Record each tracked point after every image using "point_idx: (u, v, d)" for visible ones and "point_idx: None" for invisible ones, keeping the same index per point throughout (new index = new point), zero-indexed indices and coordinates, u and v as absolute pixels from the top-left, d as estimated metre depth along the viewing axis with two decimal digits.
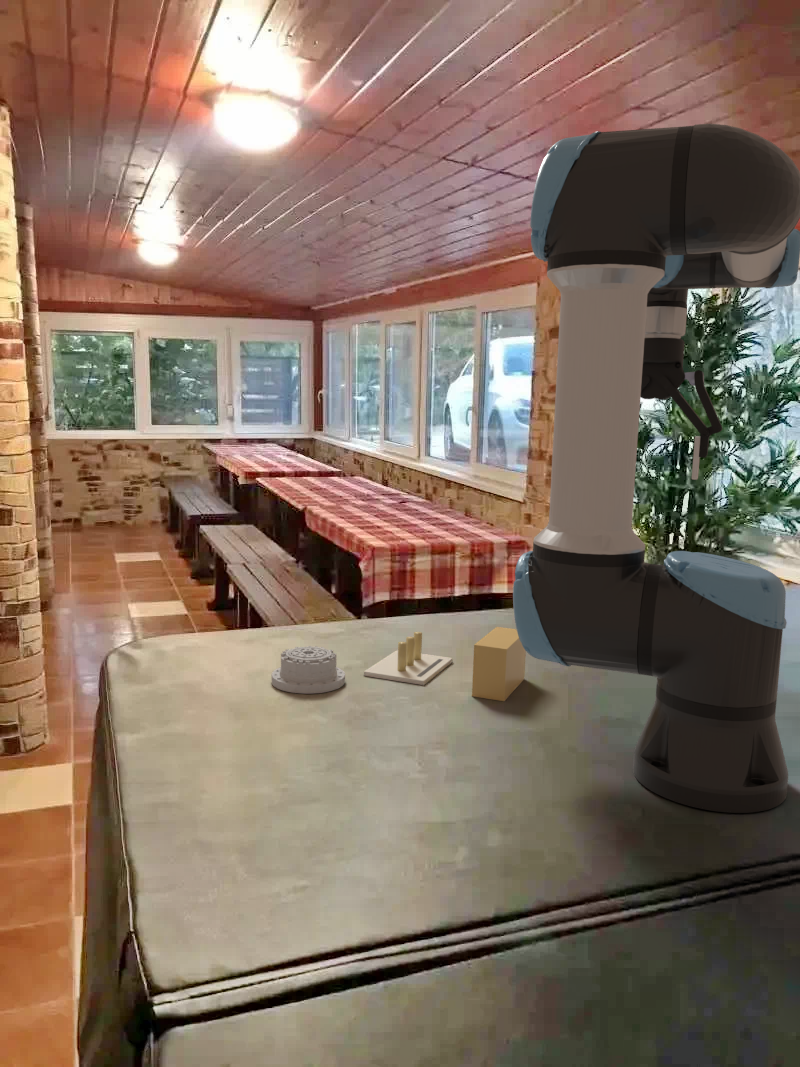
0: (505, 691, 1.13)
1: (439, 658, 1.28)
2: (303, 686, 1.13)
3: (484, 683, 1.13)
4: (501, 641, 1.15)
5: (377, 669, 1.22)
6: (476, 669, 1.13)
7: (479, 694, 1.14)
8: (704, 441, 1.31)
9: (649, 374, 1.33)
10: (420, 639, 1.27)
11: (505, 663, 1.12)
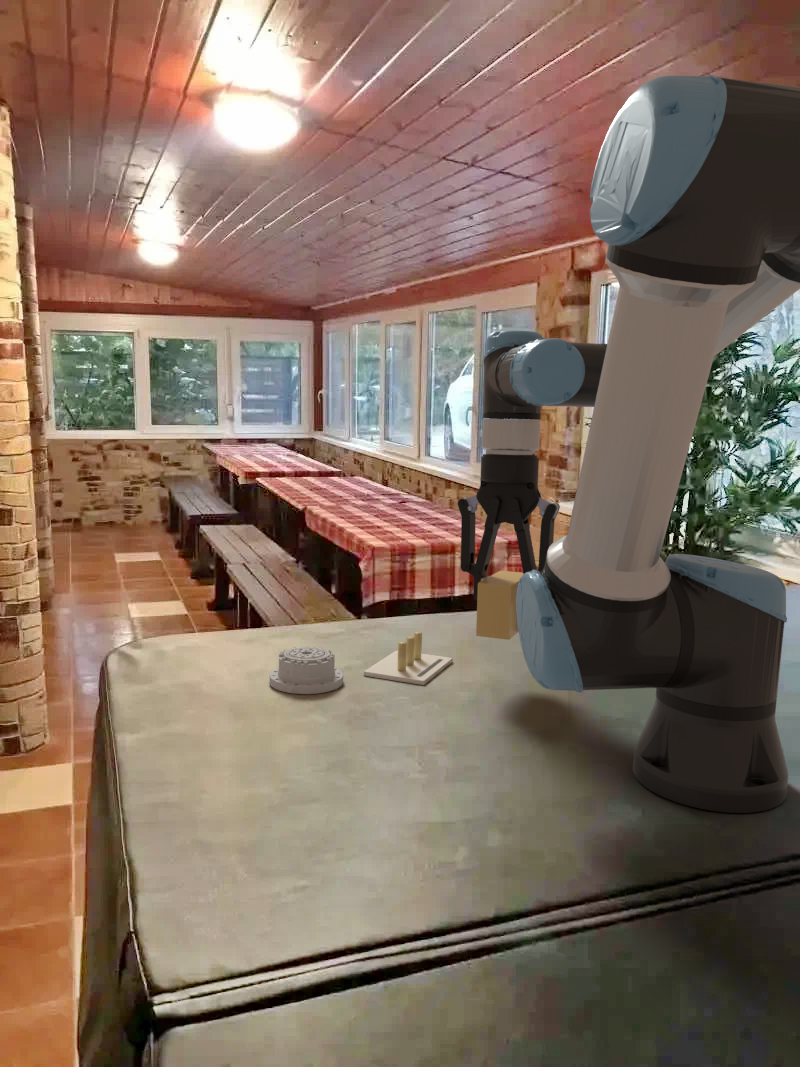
0: (510, 629, 1.11)
1: (439, 658, 1.28)
2: (302, 687, 1.13)
3: (488, 622, 1.12)
4: (505, 580, 1.14)
5: (377, 669, 1.22)
6: (480, 608, 1.12)
7: (483, 633, 1.12)
8: None
9: (497, 487, 1.13)
10: (420, 639, 1.27)
11: (509, 600, 1.10)
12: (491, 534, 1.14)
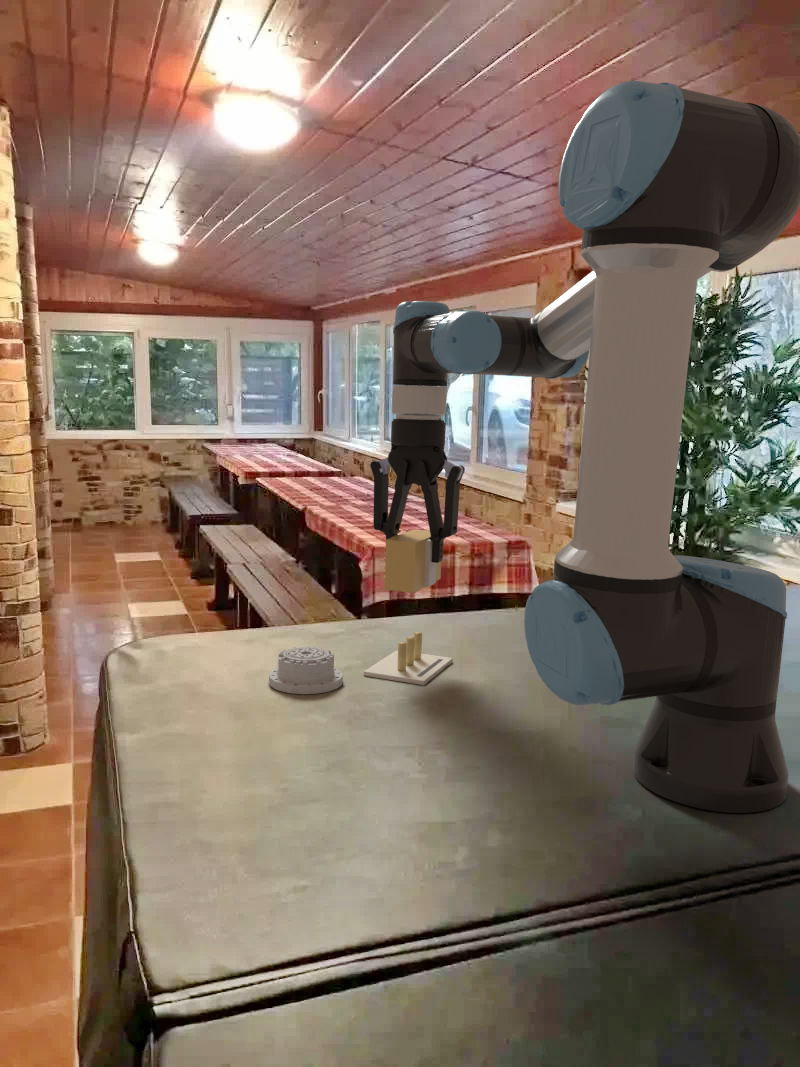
0: (415, 583, 1.18)
1: (439, 658, 1.28)
2: (301, 687, 1.13)
3: (396, 576, 1.19)
4: (413, 537, 1.21)
5: (377, 669, 1.22)
6: (388, 563, 1.19)
7: (391, 587, 1.19)
8: (436, 546, 1.21)
9: (406, 450, 1.20)
10: (420, 639, 1.27)
11: (414, 556, 1.17)
12: (401, 495, 1.21)
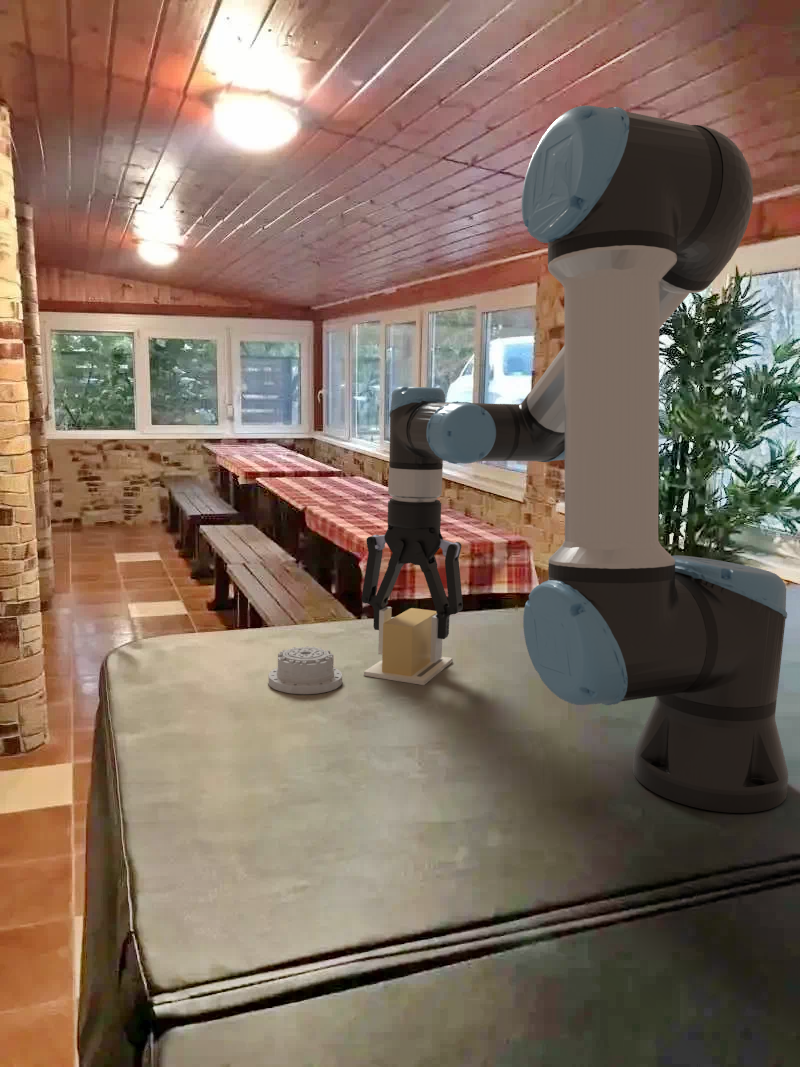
0: (412, 667, 1.20)
1: None
2: (300, 687, 1.13)
3: (393, 659, 1.20)
4: (410, 620, 1.22)
5: (377, 669, 1.22)
6: (385, 646, 1.21)
7: (388, 670, 1.21)
8: (442, 622, 1.22)
9: (403, 533, 1.22)
10: None
11: (411, 640, 1.19)
12: (393, 572, 1.23)
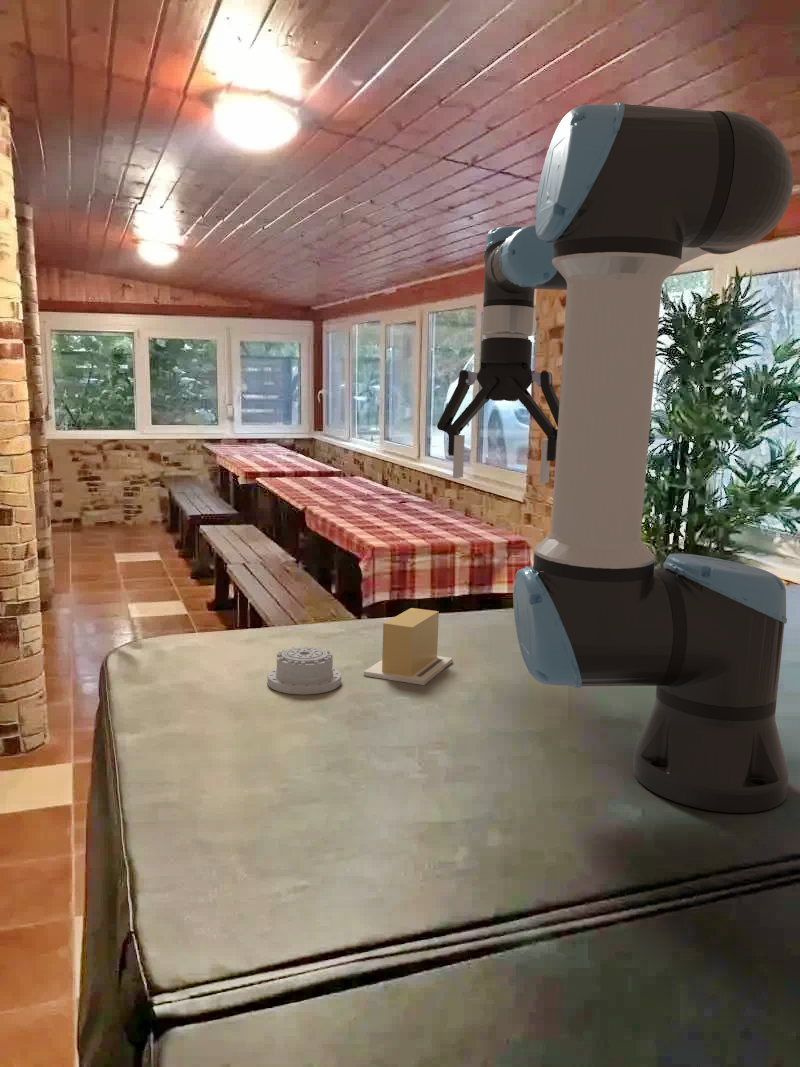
0: (412, 667, 1.20)
1: (439, 658, 1.28)
2: (298, 687, 1.13)
3: (393, 659, 1.20)
4: (410, 620, 1.22)
5: (377, 669, 1.22)
6: (385, 646, 1.21)
7: (388, 670, 1.21)
8: (551, 444, 1.27)
9: (497, 375, 1.29)
10: None
11: (411, 640, 1.19)
12: (477, 405, 1.31)
